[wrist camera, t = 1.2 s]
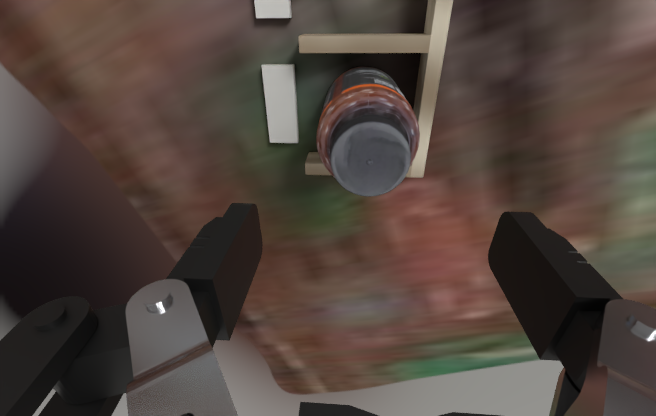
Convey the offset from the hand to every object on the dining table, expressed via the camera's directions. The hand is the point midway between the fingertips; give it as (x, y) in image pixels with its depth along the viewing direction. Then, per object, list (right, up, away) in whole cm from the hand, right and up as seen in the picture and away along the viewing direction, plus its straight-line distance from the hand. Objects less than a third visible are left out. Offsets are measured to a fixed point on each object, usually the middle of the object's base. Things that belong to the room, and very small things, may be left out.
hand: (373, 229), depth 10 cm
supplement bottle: (+1, +9, +14) cm, 17 cm away
